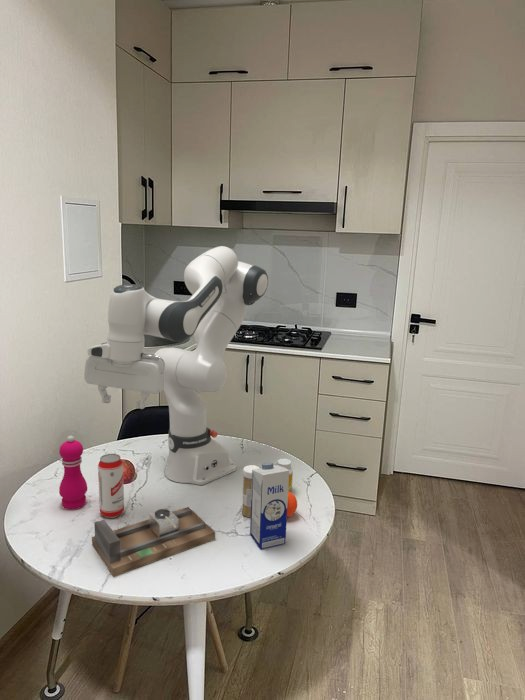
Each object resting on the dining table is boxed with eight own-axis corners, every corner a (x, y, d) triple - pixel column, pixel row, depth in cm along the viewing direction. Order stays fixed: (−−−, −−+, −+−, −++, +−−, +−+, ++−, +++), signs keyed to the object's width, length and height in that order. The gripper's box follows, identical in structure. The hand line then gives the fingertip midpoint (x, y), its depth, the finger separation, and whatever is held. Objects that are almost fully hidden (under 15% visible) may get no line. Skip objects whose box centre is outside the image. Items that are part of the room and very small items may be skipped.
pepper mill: (79, 512, 140) (75, 442, 136) (54, 508, 142) (50, 439, 137) (93, 499, 147) (90, 432, 143) (69, 495, 149) (65, 429, 144)
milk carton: (259, 549, 127) (262, 474, 123) (249, 534, 133) (251, 462, 129) (286, 543, 130) (290, 469, 125) (274, 529, 136) (278, 457, 131)
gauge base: (188, 513, 142) (188, 489, 140) (215, 539, 131) (215, 513, 129) (92, 544, 127) (91, 518, 125) (113, 576, 116) (112, 548, 114)
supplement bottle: (275, 496, 152) (276, 466, 150) (271, 487, 158) (273, 457, 155) (293, 495, 153) (295, 465, 151) (289, 486, 159) (290, 457, 156)
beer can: (128, 509, 143) (127, 455, 139) (115, 521, 137) (113, 465, 133) (109, 505, 145) (107, 451, 141) (94, 516, 139) (92, 460, 135)
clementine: (299, 524, 139) (300, 500, 137) (272, 525, 138) (273, 500, 136) (294, 508, 146) (296, 485, 145) (270, 508, 146) (271, 485, 144)
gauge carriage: (167, 521, 134) (167, 506, 133) (184, 539, 126) (184, 523, 125) (149, 527, 131) (149, 511, 130) (165, 546, 124) (165, 529, 123)
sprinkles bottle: (242, 509, 145) (243, 464, 142) (258, 509, 145) (260, 464, 142) (241, 518, 141) (242, 472, 138) (258, 518, 141) (260, 472, 138)
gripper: (170, 354, 130) (167, 408, 132) (95, 344, 134) (93, 396, 137) (159, 358, 124) (156, 415, 126) (81, 347, 128) (80, 402, 131)
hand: (123, 405), depth 132 cm, fingers open, 8 cm apart
